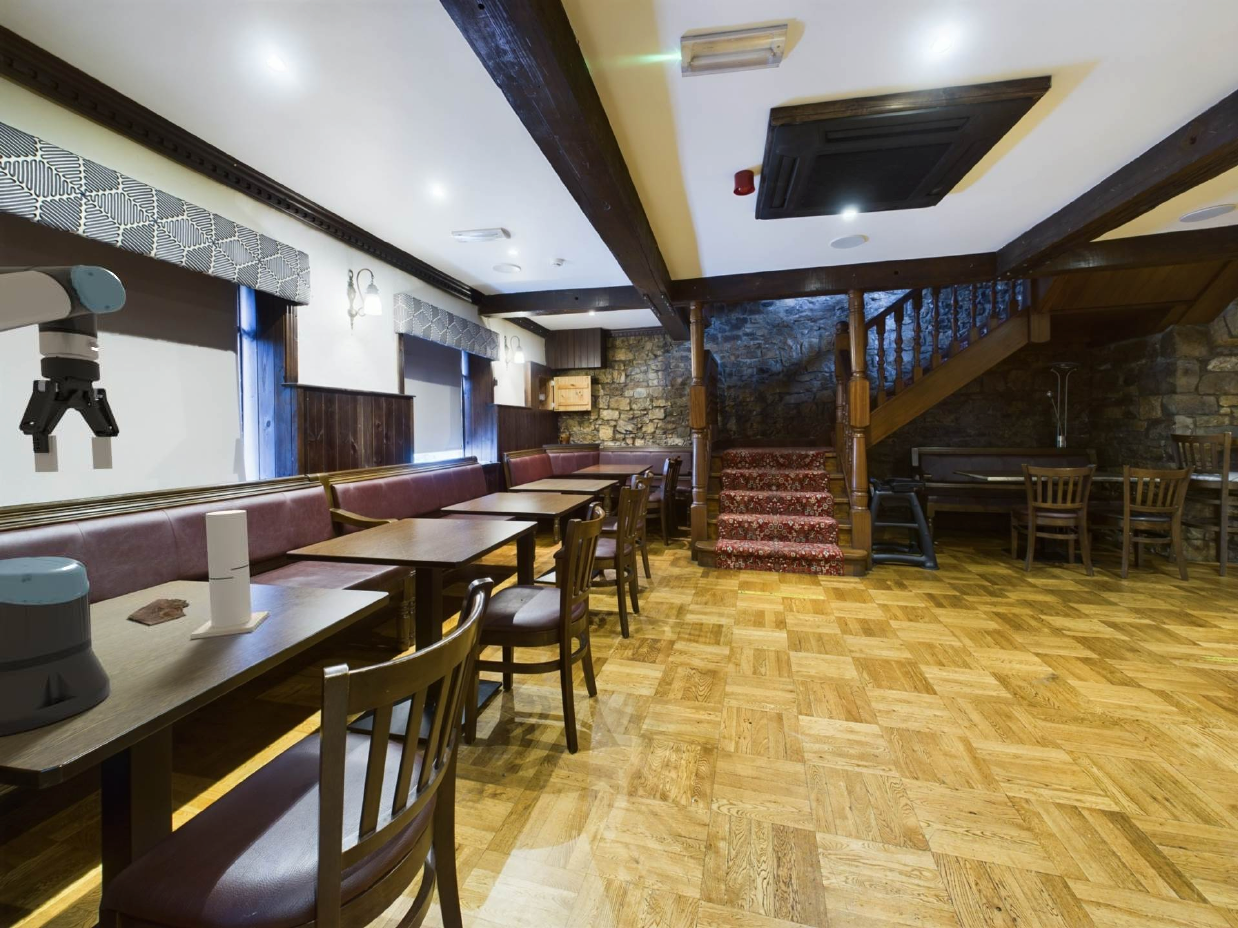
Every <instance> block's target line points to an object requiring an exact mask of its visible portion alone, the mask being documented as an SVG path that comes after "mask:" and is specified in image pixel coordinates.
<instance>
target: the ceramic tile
mask: <svg viewBox="0 0 1238 928" xmlns="http://www.w3.org/2000/svg"><path fill="white" fill-rule="evenodd" d="M251 617H252V619H251V620H250V621H248V622H246V623H243V624H240V625H237V626H232V627H226V628H213V627H212V625H211V619H209V620H208V621H206V623H204V624H203V625H201V626H200V627H198V628H196V630H195V631H193V632H191V634H190V640H194V639H202V638H210V637H218V636H225V635H227V636H228V635H236V634H244V633H250V632H251V633H252V632H254V630H256V629H257V628H258V626H260V625H261V624H262V623H264V622H265V620H266V619H267V618H268V617H270V610H268V611H266V610H265V611H259V612H258V611H257V612H251Z"/></svg>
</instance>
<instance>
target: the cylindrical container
mask: <svg viewBox="0 0 1238 928" xmlns="http://www.w3.org/2000/svg"><path fill="white" fill-rule="evenodd" d="M247 520H248V519H247V510H244V509H242V510H241V509H237V510H236V509H231V510H220V511H212V512H207V513H205V527H206V528H205V529H206V530H205V531H206V547H207V565H208V567H207V568H208V584H209V605H210V620H211V625H212V627H213V628H226V627H232V626H237V625H240V624H243V623H246V622H248V621H250V620H251V619H252V617H251V613H252V601H251V581H250V579H251V578H250V561H249V538H248V521H247Z"/></svg>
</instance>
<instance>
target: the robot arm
mask: <svg viewBox="0 0 1238 928" xmlns="http://www.w3.org/2000/svg"><path fill="white" fill-rule="evenodd" d="M126 298H127V295H126V290H125V289H124V285H122V282H121V280H120V279H119V278H118V277H117V276H116V275H115V274H114V273H113V272H111V271H110V270H108V269H106V268H103V267H101V266H95V265H92V266H91V265H84V264H78V265H71V266H69V265H66V266H65V265H64V266H63V265H62V266H58V265H57V266H0V333H2V332H7V331H12V330H16V329H20V328H25V327H29V326H34V325H37V327H38V341H39V342H38V345H39V346H38V347H39V354H40V355H41V356H44V357H42V358H41V359H40V375H41V377H42V378H44V379H34V380H33V382H32V392H31V396H30V399H29V400H28V403H27V405H26V408H25V409H24V410H25V411H24V413H23V415H22V418H21V421H20V423H19V427H18V429H19V431H22V433H23V434H24V435H25V436H32V450H33V453H34V472H35V473H53V472H54V473H55V472H56V473H57V472H59V465H58V464H59V463H58V462H59V461H58V445H57V443H58V441H57V435H52V433H53V432H54V430H55V429H56V427H57V426H58V424H59V423H60V421H61V420H62V418H63V417H64V416H65V414H66V412H67V410H69V409H73V410H75V411H76V412H79V413H80V415H81V416H82V419H83V420H84V421H85V422H86V424H87V425H88V427H89V428H90V431H92V433H93V434H94V437H93V436H91V447H92V449H91V450H92V451H91V452H92V453H91V454H92V467H93V470H113V456H112V453H113V452H112V438H114V437H115V438H117V437H118V436H119V433H120V428H119V426H118V423H117V421H116V418H115V416H114V414H113V411H112V409H111V406H110V403H109V401H108V397H107V391H106V388H104V387H98V388H97V387H93V383H94V382H99V381H100V380H101V371H100V363H99V362H97V361H96V360H98V359H99V347H100V344H99V341H98V338H99V336H98V314H99V315H101V314H104V313H113V312H117V311H119V310H121V309H122V308H123V307H124V305H125V303H126V300H127V299H126ZM90 599H91V597H90V581H89V580H88V576H87V569H86V566H85V565H84V564H83V563H82V562H80V561H78V560H76V559H73V558H68V557H64V556H63V557H61V556H37V557H30V556H27V557H17V558H9V559H7V558H6V559H0V737H1V736H8V735H12V734H16V733H22V732H26V731H28V730H32V729H33V730H34V729H37V728H40V727H43V726H47V725H50V724H53V723H55V722H56V723H57V722H59V721H63V720H65V719H67V718H70V717H72V716H75V715H77V714H80V713H83V712H84V711H86V710H88V709H90V708H93V706H96V705H97V704H99V703H101V702H102V701H104V700H105V699H106V698H107V697H109V695H110V694H111V684H110V676H109V675H108V674H107V672H106V669H104V666H103V665H102V663H101V662H100V659H99V658H98V656H97V655H96V653H95V651H94V650H93V649H94V648H93V644H92V627H91V626H92V624H91V623H92V622H91V601H90Z"/></svg>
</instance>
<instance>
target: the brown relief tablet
mask: <svg viewBox="0 0 1238 928" xmlns="http://www.w3.org/2000/svg"><path fill="white" fill-rule="evenodd" d="M187 606H190V602H187V600H186V599H180V598H174V599H173V598H172V599H167V598H159V599H158V598H157V599H156V600H154V601H152V602H150V603H149V604H146V605H145V606H142V607H141V608H139V609H136V611H134V612H133V613H131V614H129V615H128V616H127V619H132V620H134V621H137V622H141V623H144V624H147V625H149V626H150V627H152V626H156V625H160V624H164V623H168V622H170V621H174V620H178V619H181V618H183V617H185V616H187V614H186V613H185V612H184V609H185V608H186V607H187Z"/></svg>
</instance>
